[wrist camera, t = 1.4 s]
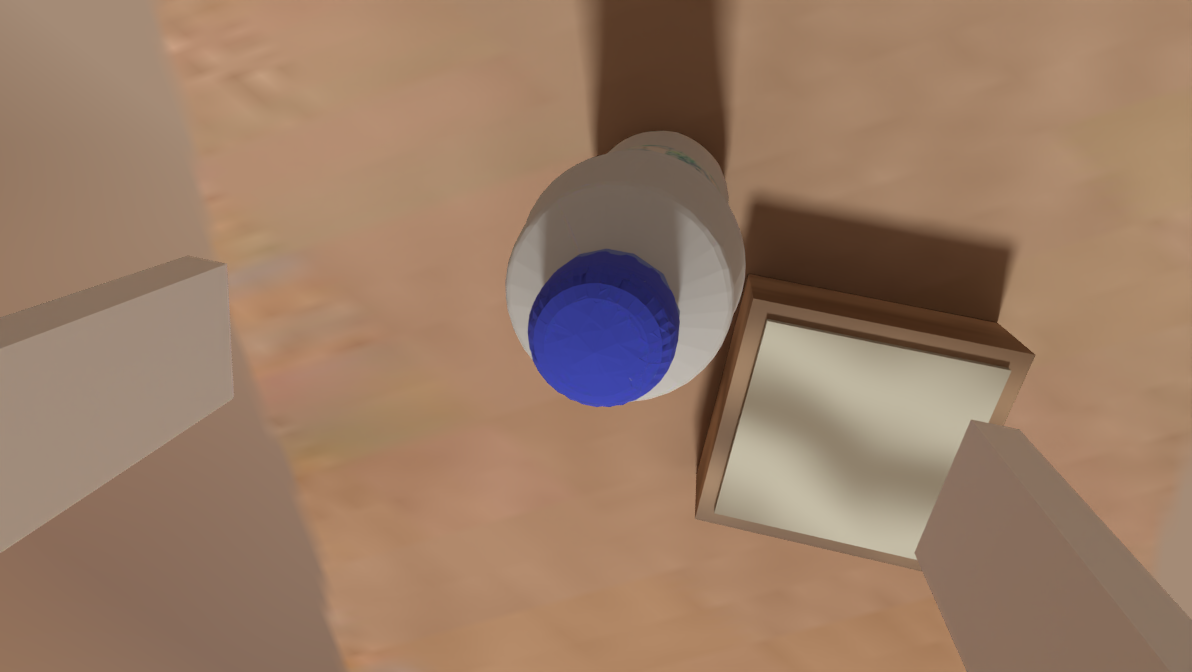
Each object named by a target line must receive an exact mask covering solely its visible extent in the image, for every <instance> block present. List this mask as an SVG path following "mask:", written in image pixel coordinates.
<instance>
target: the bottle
mask: <svg viewBox="0 0 1192 672" xmlns="http://www.w3.org/2000/svg"><path fill="white" fill-rule="evenodd" d="M745 267H746V261H745V248H744V243H743V239H742V235H741V232H740V229H739V226H738V224H737V221H736V219H735V216H734V215H733V213H732V211H731V209H730V207H729V205H728V191H727V185H726V181H725V178H724V175H723V173H722V170H721V168H720V166H719V164H718V162H717V161H716V160H715V158H714V157H713V156H712V155H711V154H710V153H709V152H708V151H707V150H706V149H705V148H704V147H703V146H702V145H700V144H699V143H697V142H696V141H694V140H693V139H691V138H689V137H687V136H685V135H683V134H680V133H678V132H672V131H649V132H644V133H640V134H636V135H633V136H631V137H629V138H627V139H625V140H623V141H622V142H620V143H619V144H617V145H616V146H615V147H614V148H612V149H611V150H610V151H609V152H608V153H607V154H603V155H600V156H596V157H593V158H590V159H588V160H585V161H583V162H581V163H579V164H577V165H575V166H573V167H572V168H570V169H569V170H567V171H565V172H564V173H563V174H561V175H560V176H559V177H558V178H557V179H555V180H554V181H553V182H552V183H551V184H550V185H549V186H548V187H547V188H546V190H545V191H544V192H543V193H542V194H541V195H540V197H539V199H538V200H537V202H536V203H535V205H534V207H533V208H532V210H531V211H530V214H529V216H528V219H527V222H526V224H525V226H524V228H523V229H522V231H521V233H520V235H519V237H518V239H517V241H516V243H515V245H514V247H513V250H512V253H511V256H510V259H509V262H508V268H507V275H506V301H507V307H508V312H509V315H510V319H511V322H512V325H513V328H514V330H515V332H516V334H517V336H518V338H519V341H520V342H521V344H522V346H523V348H524V349H525V351H526V352H527V353H528V354H529V356H530V357H531V358H532V360H533V362H534V364H535V365H536V367H537V369H538V371H539V373H540V374H541V375H542V376H543V378H544V379H545V380H546V381H547V383H548V384H549V385H551V386H552V387H553V388H554V389H555V390H556V391H558V392H559V393H561V394H563V395H565V396H566V397H568V398H569V399H571V400H575V401H577V402H579V403H581V404H585V405H590V406H595V407H599V406H605V407H611V406H615V405H624V404H625V403H627V402H632V401H639V400H646V399H651V398H654V397H657V396H661V395H664V394H667V393H670V392H671V391H673V390H675V389H677V388H679V387H681V386H682V385H684V384H686V383H688V382H689V381H690V380H692V379H693V378H694V377H695V376H696V375H698V374H699V373H700V372H701V371H702V370H703V369H704V368H705V367H706V366H707V365H708V364H709V363H710V362H711V361H712V359H713V358H714V357H715V355H716V354H717V352H718V351H719V349H720V347H721V346H722V344H723V342H724V339H725V337H726V335H727V332H728V330H729V327H730V324H731V321H732V318H733V314H734V312H735V310H736V308H737V306H738V303H739V300H740V297H741V294H742V291H743V285H744V280H745Z"/></svg>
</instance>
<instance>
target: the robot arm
mask: <svg viewBox="0 0 1192 672" xmlns="http://www.w3.org/2000/svg"><path fill="white" fill-rule="evenodd" d="M233 398H234V391H233V371H232V351H231V332H230V313H229V293H228V274H227V264H225V263H221V262H216V261H211V260H206V259H202V258H197V257H192V256H185V257H182V258H179V259H176V260H173V261H170V262H167V263H165V264H161V265H158V266H155V267H152V268H149V269H146V270H143V271H140V272H137V273H134V274H131V275H128V276H125V277H122V278H119V279H116V280H113V281H110V282H107V283H103V284H100V285H97V286H94V287H91V288H88V289H85V290H82V291H79V292H76V293H73V294H70V295H67V296H64V297H61V298H58V299H55V300H52V301H49V302H46V303H43V304H40V305H37V306H34V307H31V308H28V309H25V310H22V311H19V312H16V313H13V314H9V315H6V316H3V317H0V553H1V552H3V551H4V550H6V549H7V548H9V547H10V546H12V545H13V544H15V543H16V542H18V541H19V540H21V539H22V538H24V537H25V536H27V535H28V534H30V533H31V532H33V531H34V530H36V529H37V528H39V527H40V526H42V525H43V524H45V523H46V522H48V521H49V520H51V519H53V518H54V517H55V516H57V515H59V514H60V513H61V512H63V511H64V510H66V509H68V508H69V507H70V506H72V505H73V504H75V503H77V502H78V501H80V500H81V499H82V498H84V497H85V496H87V495H88V494H90V493H92V492H93V491H94V490H96V489H98V488H99V487H101V486H102V485H104V484H105V483H107V482H108V481H110V480H111V479H113V478H114V477H116V476H117V475H119V474H120V473H122V472H123V471H125V470H126V469H128V468H129V467H131V466H132V465H134V464H135V463H137V462H138V461H140V460H141V459H143V458H144V457H145V456H147V455H149V454H150V453H152V452H153V451H155V450H156V449H158V448H159V447H161V446H162V445H164V444H166V443H167V442H168V441H170V440H171V439H173V438H174V437H176V436H177V435H179V434H180V433H182V432H183V431H185V430H186V429H188V428H190V427H191V426H192V425H194V424H196V423H197V422H199V421H200V420H201V419H203V418H205V417H206V416H208V415H209V414H210V413H212V412H214V411H215V410H217V409H218V408H219V407H221V406H223V405H224V404H226V403H227V402H229V401H230V400H232V399H233ZM914 553H915V556H916V558H917V560H918V562H919V565H920V567H921V569H922V571H923V574H924V576H925V578H926V580H927V583H928V585H929V587H930V589H931V592H932V594H933V596H934V598H935V601H936V603H937V605H938V607H939V610H940V612H941V614H942V616H943V619H944V621H945V623H946V626H947V628H948V630H949V632H950V635H951V637H952V639H953V641H954V644H955V646H956V648H957V650H958V653H959V655H960V657H961V659H962V662H963V664H964V666H965V668H966V671H967V672H1192V620H1191V619H1190V617H1189V616H1188V615H1187V614H1186V613H1185V612H1184V611H1183V610H1182V609H1181V607H1179V605H1178V604H1177V603H1176V602H1175V601H1174V600H1173V599H1172V598H1171V597H1170V595H1169V594H1168V593H1167V592H1166V591H1165V590H1164V589H1163V588H1162V587H1161V585H1160V584H1159V583H1158V582H1157V581H1156V580H1155V579H1154V578H1153V577H1152V575H1151V574H1150V573H1149V572H1148V571H1147V570H1146V569H1145V568H1144V567H1143V566H1142V564H1141V563H1140V562H1139V561H1138V560H1137V559H1136V558H1135V557H1134V556H1133V555H1132V553H1131V552H1130V551H1129V550H1128V549H1127V548H1126V547H1125V546H1124V545H1123V543H1122V542H1121V541H1120V540H1119V539H1118V538H1117V537H1116V536H1115V535H1114V534H1113V532H1112V531H1111V530H1110V529H1109V528H1108V527H1107V526H1106V525H1105V524H1104V523H1103V521H1102V520H1101V519H1100V518H1099V517H1098V516H1097V515H1096V514H1095V513H1094V511H1093V510H1092V509H1091V508H1090V507H1089V506H1088V505H1087V504H1086V503H1085V502H1084V500H1083V499H1082V498H1081V497H1080V496H1079V495H1078V494H1077V493H1076V492H1075V490H1074V489H1073V488H1072V487H1071V486H1070V485H1069V484H1068V483H1067V482H1066V481H1065V479H1064V478H1063V477H1062V476H1061V475H1060V474H1059V473H1058V472H1057V471H1056V470H1055V468H1054V467H1053V466H1052V465H1051V464H1050V463H1049V462H1048V461H1047V460H1046V458H1045V457H1044V456H1043V455H1042V454H1041V453H1040V452H1039V451H1038V450H1037V449H1036V447H1035V446H1034V445H1033V444H1032V443H1031V442H1030V441H1029V440H1028V439H1027V438H1026V436H1025V435H1024V434H1023V433H1022V432H1021V431H1020V430H1019V429H1015V428H1010V427H1005V426H1000V425H995V424H991V423H986V422H981V421H976V420H972V419H971V421H970V423H969V425H968V428H967V430H966V432H965V435H964V437H963V439H962V442H961V444H960V446H959V449H958V451H957V454H956V456H955V458H954V461H953V463H952V465H951V468H950V470H949V472H948V475H947V477H946V479H945V482H944V484H943V486H942V489H941V491H940V494H939V496H938V498H937V501H936V503H935V505H934V508H933V510H932V512H931V515H930V517H929V519H928V522H927V524H926V526H925V529H924V531H923V534H922V536H921V538H920V541H919V543H918V545H917V548H916V550H915V552H914Z"/></svg>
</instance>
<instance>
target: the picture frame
mask: <svg viewBox="0 0 1192 672" xmlns="http://www.w3.org/2000/svg"><path fill="white" fill-rule="evenodd" d="M1034 357H1035V354H1034V353H1033V352H1031V351H1030V350H1029V349H1028V348H1027V347H1025V346H1024V345H1023V344H1022V343H1021V342H1020V341H1018V340H1017V339H1016V338H1015V337H1014V336H1012V335H1011V334H1010V333H1009V332H1008V331H1007V330H1005V329H1004V328H1003V327H1002V326H1001V325H999V324H998V323H995V322H990V321H985V320H980V319H975V318H970V317H965V316H959V315H954V314H949V313H944V312H939V311H934V310H929V309H924V308H919V307H914V306H909V305H904V304H899V303H894V302H889V301H883V300H878V299H873V298H868V297H863V296H858V295H853V294H848V293H843V292H838V291H833V290H828V289H823V288H818V287H812V286H807V285H802V284H797V283H792V282H787V281H782V280H777V279H772V278H767V277H762V276H757V275H752V274H748V278H747V281H746V285H745V289H744V293H743V297H742V301H741V305H740V309H739V313H738V316H737V320H736V324H735V328H734V332H733V336H732V340H731V344H730V347H729V351H728V355H727V359H726V363H725V367H724V371H723V375H722V378H721V382H720V386H719V390H718V394H717V398H716V402H715V406H714V409H713V413H712V417H711V421H710V425H709V429H708V433H707V437H706V441H705V444H704V448H703V452H702V456H701V460H700V464H699V468H698V472H697V475H696V504H695V519H698V520H702V521H706V522H711V523H715V524H719V525H724V526H728V527H732V528H737V529H741V530H745V531H750V532H754V533H758V534H763V535H767V536H771V537H776V538H780V539H784V540H788V541H793V542H797V543H801V544H806V545H810V546H814V547H819V548H823V549H827V550H832V551H836V552H840V553H845V554H849V555H853V556H858V557H862V558H866V559H871V560H875V561H879V562H884V563H888V564H892V565H896V566H901V567H905V568H909V569H914V570H918V571H922V569H921V567H920V565H919V562H918V560H917V558H916V556H915V553H914V552H915V550H916V548H917V545H918V543H919V541H920V538H921V536H922V534H923V531H924V529H925V526H926V524H927V522H928V519H929V517H930V515H931V512H932V510H933V508H934V505H935V503H936V501H937V498H938V496H939V494H940V491H941V489H942V486H943V484H944V482H945V479H946V477H947V475H948V472H949V470H950V468H951V465H952V463H953V461H954V458H955V456H956V454H957V451H958V449H959V446H960V444H961V442H962V439H963V437H964V435H965V432H966V430H967V428H968V425H969V423H970V421H971V419H972V420H976V421H981V422H986V423H991V424H995V425H1000V426H1003V425H1004V423H1005V421H1006V419H1007V417H1008V414H1009V412H1010V410H1011V408H1012V406H1013V403H1014V401H1015V399H1016V397H1017V395H1018V392H1019V390H1020V388H1021V386H1022V384H1023V381H1024V379H1025V377H1026V375H1027V372H1028V370H1029V368H1030V366H1031V364H1032V361H1033V359H1034ZM922 572H923V571H922Z"/></svg>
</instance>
